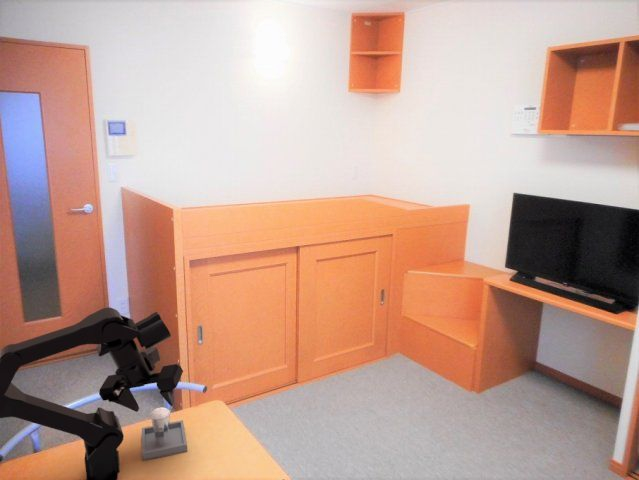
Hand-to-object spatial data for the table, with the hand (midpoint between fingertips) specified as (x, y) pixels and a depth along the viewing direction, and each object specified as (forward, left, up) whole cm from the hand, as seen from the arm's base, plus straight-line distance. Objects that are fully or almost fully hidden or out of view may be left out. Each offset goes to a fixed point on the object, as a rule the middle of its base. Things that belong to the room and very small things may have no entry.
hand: (155, 407), depth 112 cm
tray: (+2, +4, -13) cm, 14 cm away
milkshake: (+1, +4, -13) cm, 13 cm away
